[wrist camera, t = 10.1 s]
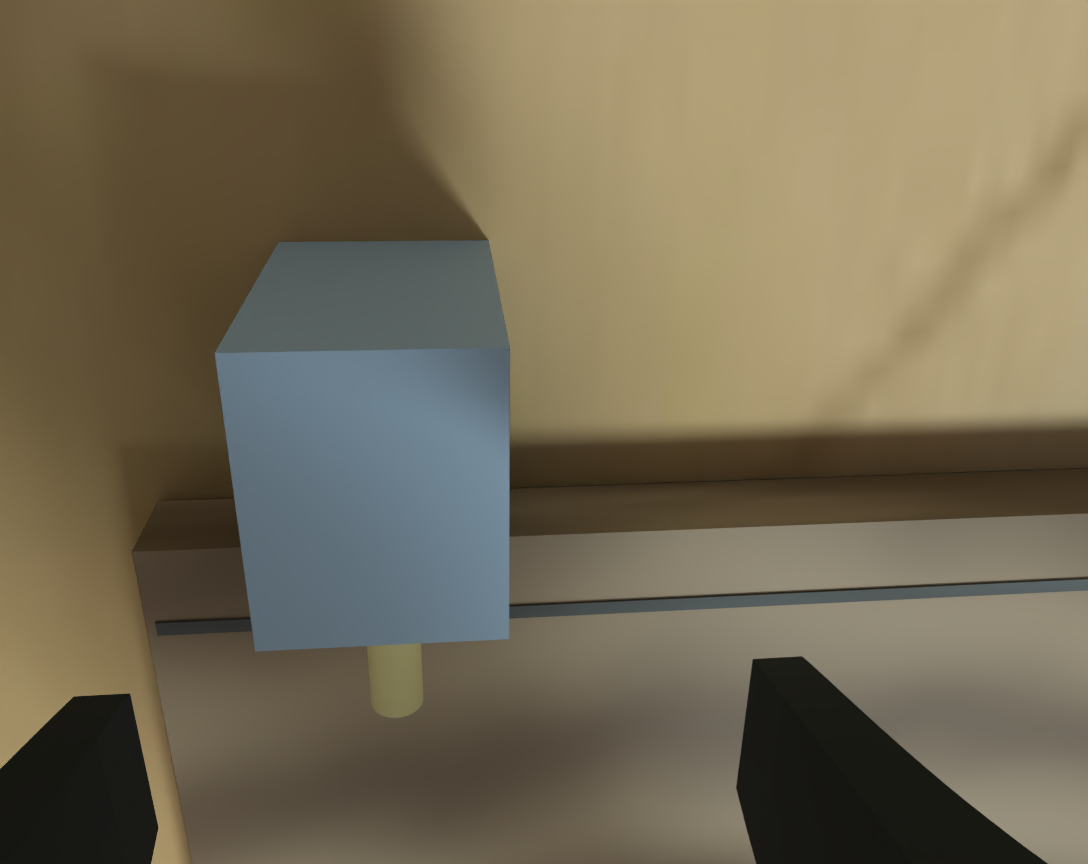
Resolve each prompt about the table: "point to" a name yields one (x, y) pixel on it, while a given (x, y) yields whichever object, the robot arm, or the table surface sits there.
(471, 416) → the light blue block
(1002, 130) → the table surface
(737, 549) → the board
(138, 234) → the table surface
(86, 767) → the robot arm
